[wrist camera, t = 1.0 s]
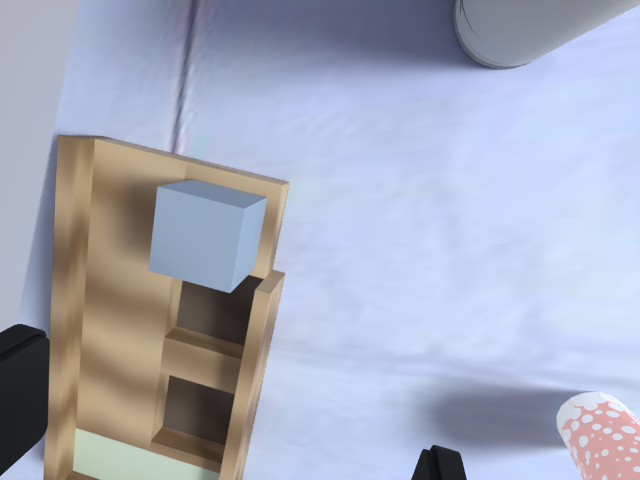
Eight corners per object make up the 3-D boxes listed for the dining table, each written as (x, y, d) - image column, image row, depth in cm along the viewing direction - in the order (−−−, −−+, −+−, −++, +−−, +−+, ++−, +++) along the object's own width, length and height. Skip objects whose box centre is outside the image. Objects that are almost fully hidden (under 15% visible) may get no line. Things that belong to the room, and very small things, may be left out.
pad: (226, 497, 35) (217, 517, 33) (89, 453, 36) (72, 470, 34) (234, 455, 34) (225, 475, 32) (92, 411, 35) (75, 427, 33)
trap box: (235, 510, 35) (217, 555, 31) (78, 458, 36) (42, 496, 33) (303, 185, 27) (290, 193, 23) (101, 135, 29) (57, 135, 25)
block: (254, 268, 27) (229, 293, 23) (185, 250, 28) (148, 270, 23) (267, 197, 26) (244, 208, 21) (194, 178, 26) (157, 186, 22)
